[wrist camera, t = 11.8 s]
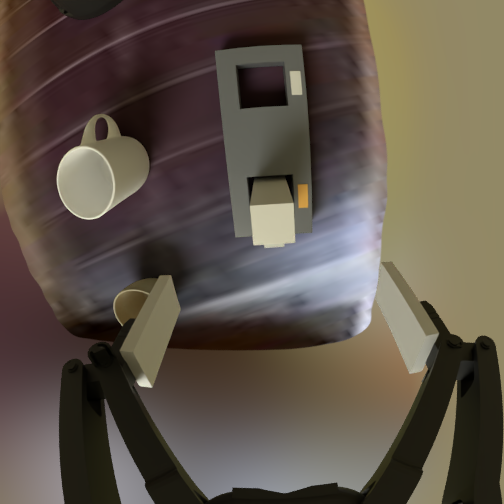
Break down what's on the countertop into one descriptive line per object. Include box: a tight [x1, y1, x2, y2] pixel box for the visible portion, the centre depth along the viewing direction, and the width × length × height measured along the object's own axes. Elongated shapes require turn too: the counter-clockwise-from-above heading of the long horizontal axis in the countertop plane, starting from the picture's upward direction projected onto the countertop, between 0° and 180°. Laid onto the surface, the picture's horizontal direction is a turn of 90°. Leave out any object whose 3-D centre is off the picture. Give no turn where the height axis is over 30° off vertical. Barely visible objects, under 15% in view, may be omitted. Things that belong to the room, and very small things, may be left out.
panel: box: [215, 45, 312, 237], centre depth 32 cm, size 24×10×3 cm, turn 5°
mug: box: [57, 114, 149, 219], centre depth 30 cm, size 9×12×11 cm
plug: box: [250, 176, 295, 248], centre depth 32 cm, size 5×4×12 cm
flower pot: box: [113, 278, 158, 326], centre depth 42 cm, size 10×10×7 cm
